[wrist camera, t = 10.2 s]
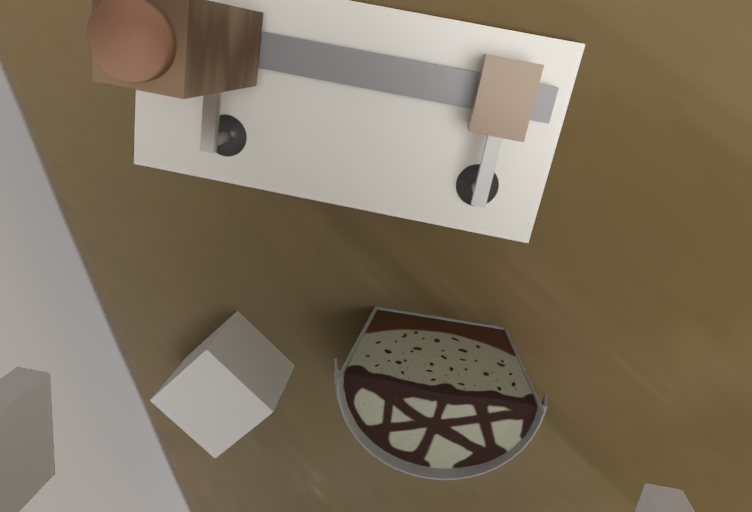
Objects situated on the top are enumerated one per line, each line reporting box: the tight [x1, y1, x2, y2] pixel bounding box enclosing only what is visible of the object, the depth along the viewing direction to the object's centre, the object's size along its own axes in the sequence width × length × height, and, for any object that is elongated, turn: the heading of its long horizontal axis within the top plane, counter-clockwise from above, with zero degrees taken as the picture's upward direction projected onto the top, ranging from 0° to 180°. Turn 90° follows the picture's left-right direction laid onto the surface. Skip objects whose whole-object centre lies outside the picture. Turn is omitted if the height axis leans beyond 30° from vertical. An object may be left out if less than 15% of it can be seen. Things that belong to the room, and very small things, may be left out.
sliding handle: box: [87, 0, 263, 153], centre depth 29 cm, size 8×4×12 cm, turn 170°
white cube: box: [150, 311, 295, 458], centre depth 41 cm, size 6×6×6 cm
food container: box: [334, 306, 548, 480], centre depth 37 cm, size 12×6×10 cm, turn 83°
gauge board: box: [134, 0, 585, 243], centre depth 34 cm, size 12×26×5 cm, turn 80°
